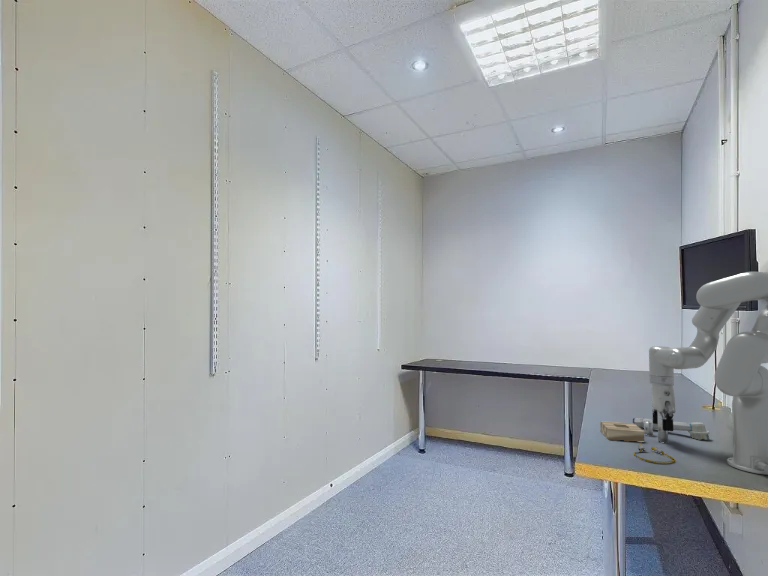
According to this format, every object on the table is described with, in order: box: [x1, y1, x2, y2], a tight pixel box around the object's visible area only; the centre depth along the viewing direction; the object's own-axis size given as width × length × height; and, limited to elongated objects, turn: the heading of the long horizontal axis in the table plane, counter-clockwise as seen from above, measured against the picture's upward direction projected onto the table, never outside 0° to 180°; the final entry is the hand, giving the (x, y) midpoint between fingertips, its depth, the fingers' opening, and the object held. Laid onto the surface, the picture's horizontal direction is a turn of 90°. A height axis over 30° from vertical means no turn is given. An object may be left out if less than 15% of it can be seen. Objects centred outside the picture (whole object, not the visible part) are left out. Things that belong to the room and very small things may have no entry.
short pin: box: [643, 421, 654, 436], centre depth 164 cm, size 3×3×5 cm
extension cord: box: [633, 443, 676, 465], centre depth 139 cm, size 12×16×2 cm
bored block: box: [599, 420, 645, 442], centre depth 161 cm, size 12×12×4 cm
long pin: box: [657, 411, 669, 444], centre depth 155 cm, size 3×3×12 cm
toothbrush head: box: [632, 417, 710, 441], centre depth 167 cm, size 5×7×25 cm
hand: (662, 427), depth 155 cm, fingers open, 9 cm apart
